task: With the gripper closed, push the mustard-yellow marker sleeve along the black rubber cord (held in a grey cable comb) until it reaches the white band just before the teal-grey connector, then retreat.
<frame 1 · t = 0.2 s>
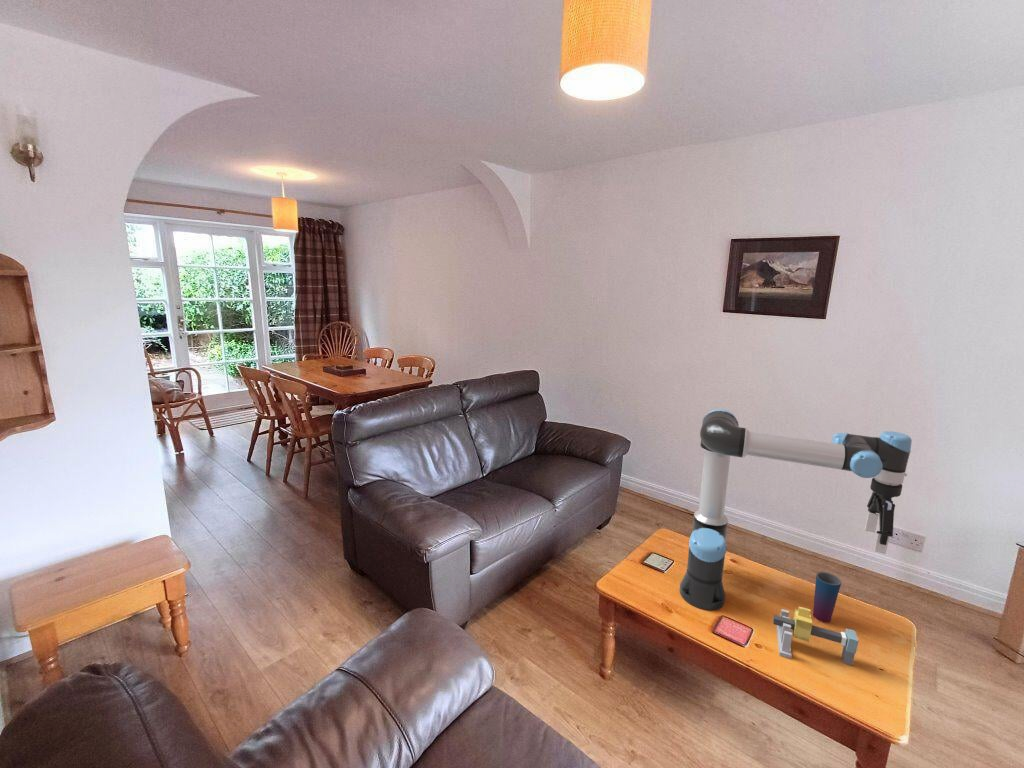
hand: (874, 541, 148), 28 cm above the table, fingers open, 13 cm apart
cup: (821, 617, 154), on the table
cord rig: (811, 650, 140), on the table
sleeve: (802, 621, 139), point 9 cm above the table, slide at 0.0 cm
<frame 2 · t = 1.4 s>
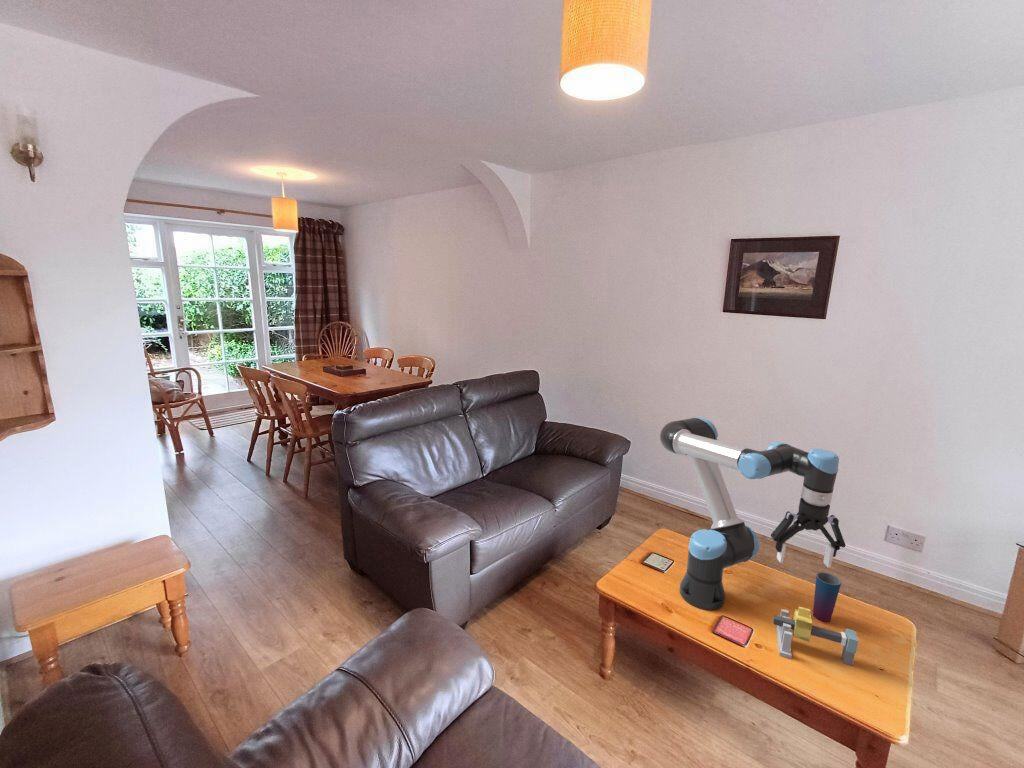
hand: (803, 562, 142), 25 cm above the table, fingers open, 13 cm apart
nothing on the table moved.
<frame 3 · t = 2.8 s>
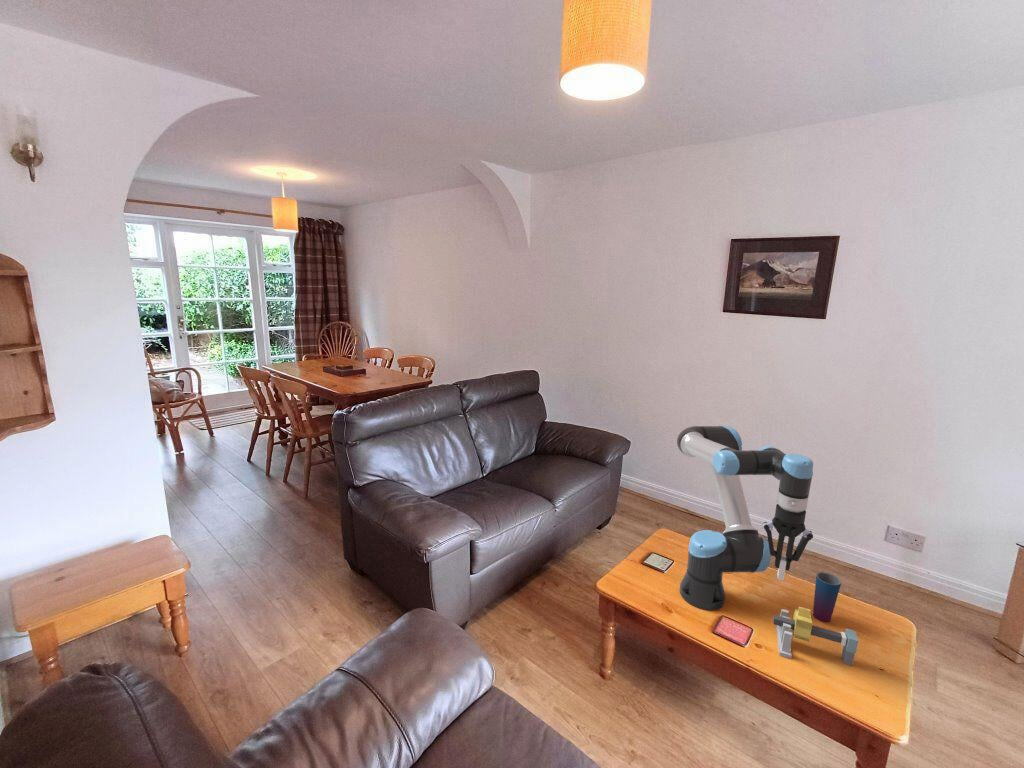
hand: (780, 577, 139), 22 cm above the table, fingers closed
nothing on the table moved.
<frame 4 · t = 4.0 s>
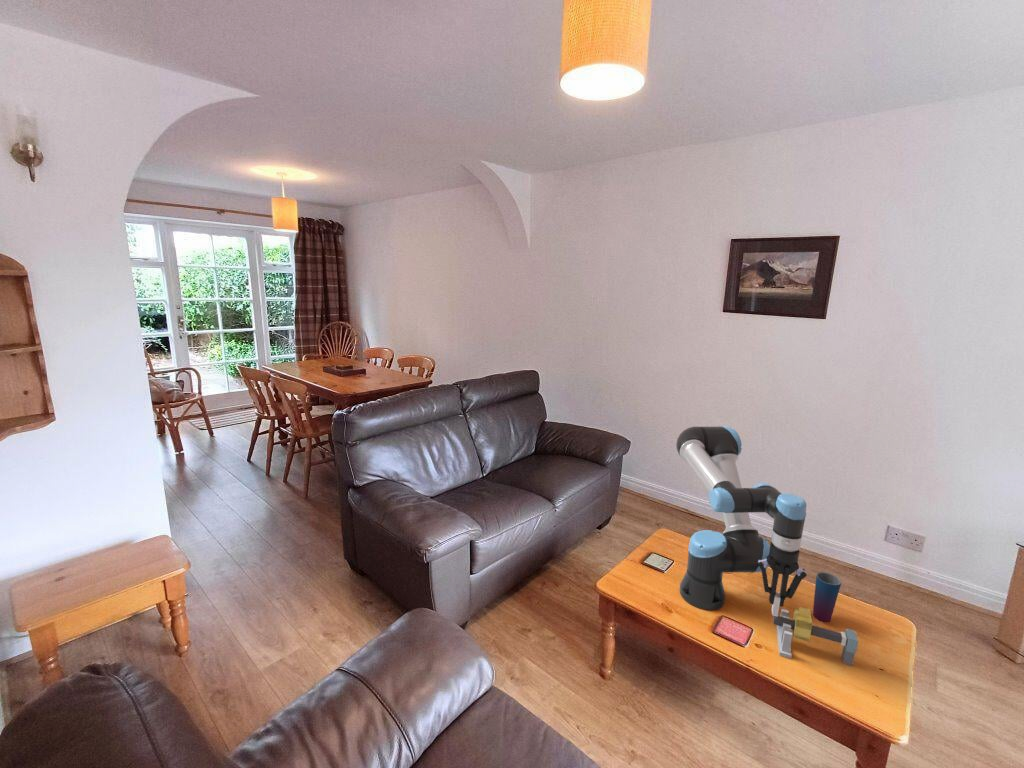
hand: (774, 613, 142), 9 cm above the table, fingers closed
nothing on the table moved.
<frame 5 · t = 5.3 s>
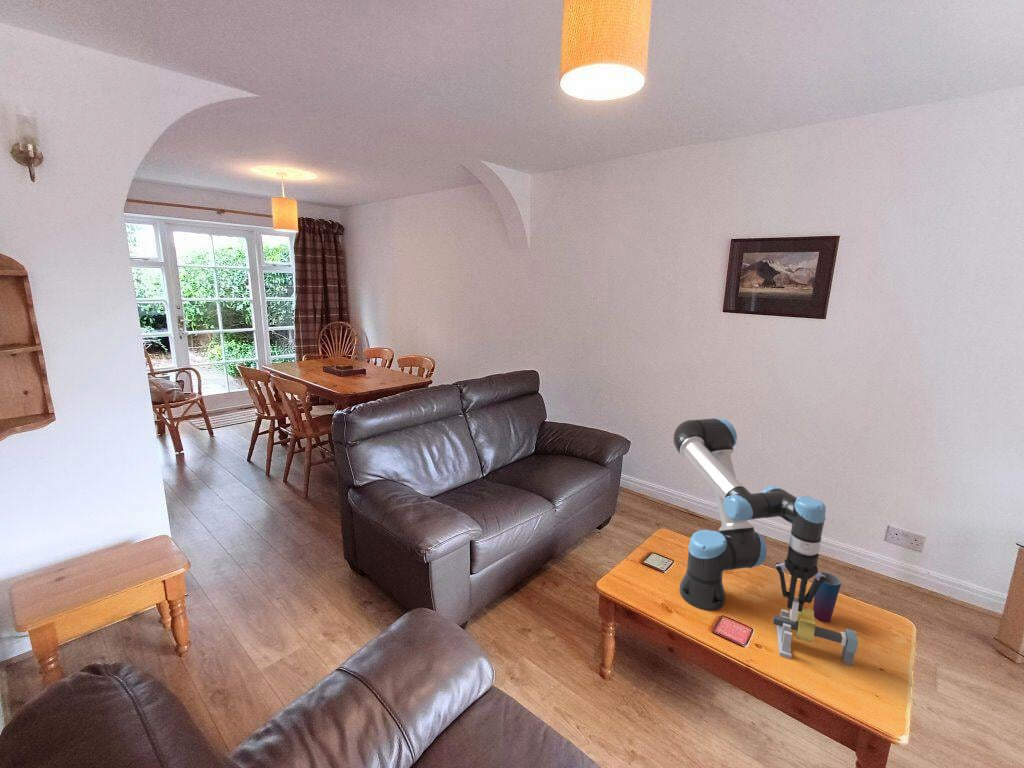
hand: (792, 618, 140), 9 cm above the table, fingers closed
sleeve: (805, 622, 139), point 9 cm above the table, slide at 0.9 cm, touching gripper
everything else where it was.
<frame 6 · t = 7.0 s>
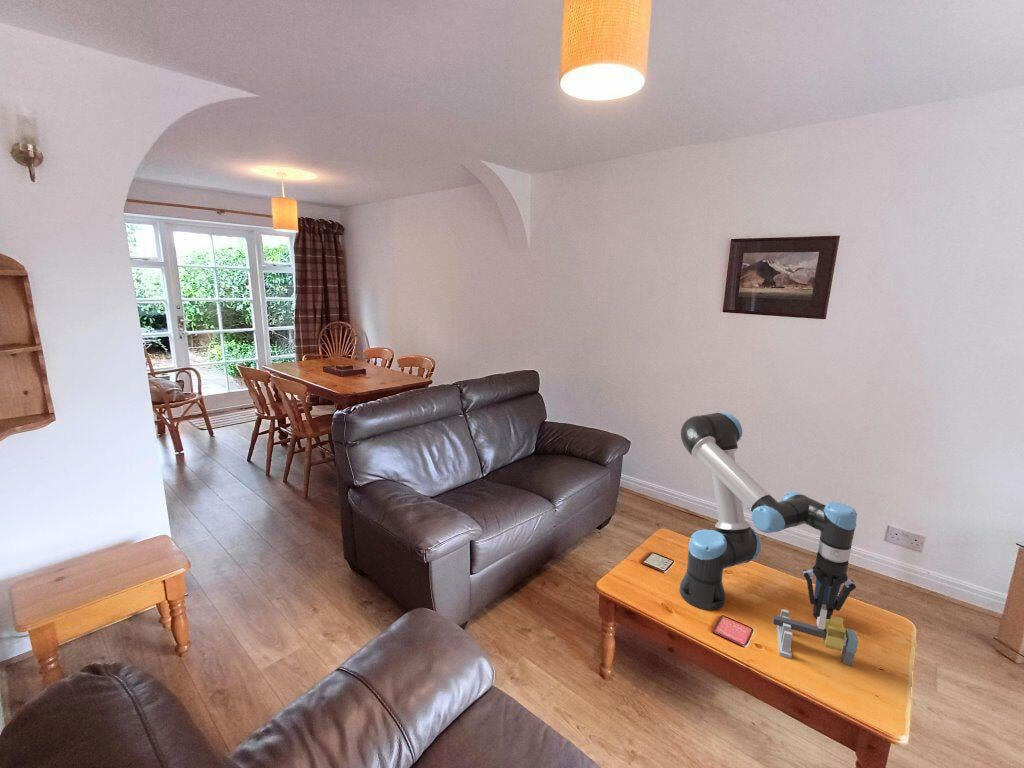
hand: (820, 625, 137), 9 cm above the table, fingers closed
sleeve: (834, 630, 136), point 9 cm above the table, slide at 8.1 cm, touching gripper
everything else where it was.
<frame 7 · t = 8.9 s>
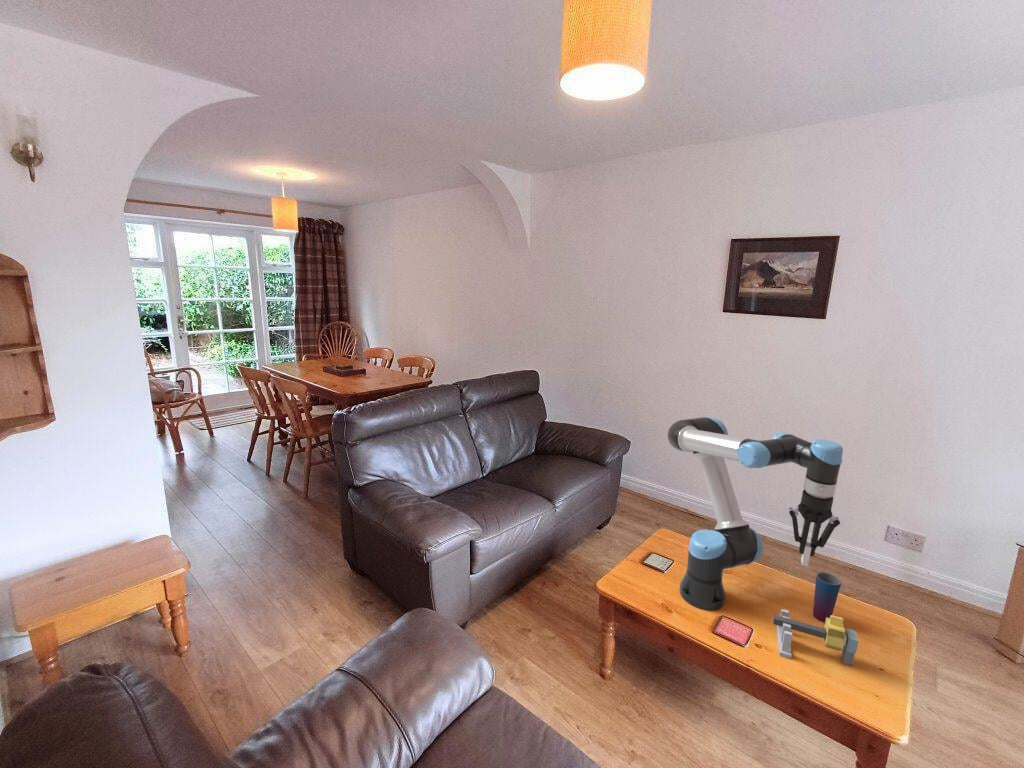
hand: (804, 563, 139), 27 cm above the table, fingers closed
sleeve: (834, 630, 136), point 9 cm above the table, slide at 8.1 cm
everything else where it was.
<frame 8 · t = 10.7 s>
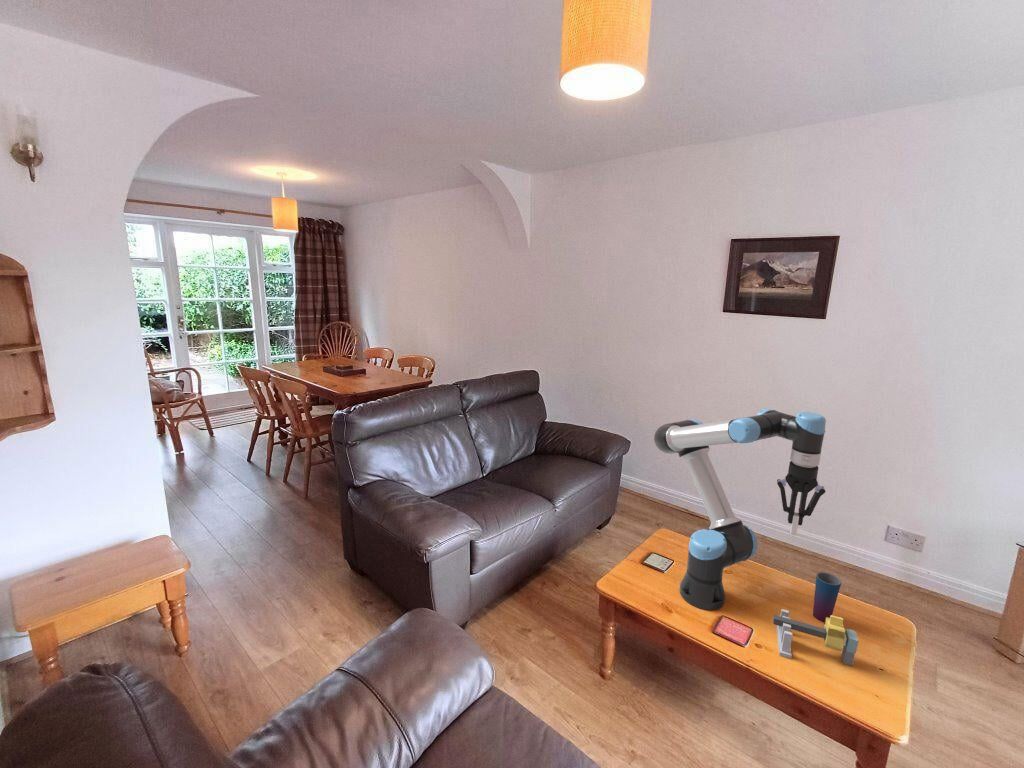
hand: (793, 532, 145), 32 cm above the table, fingers closed
nothing on the table moved.
at the end: sleeve slide at 8.1 cm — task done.
